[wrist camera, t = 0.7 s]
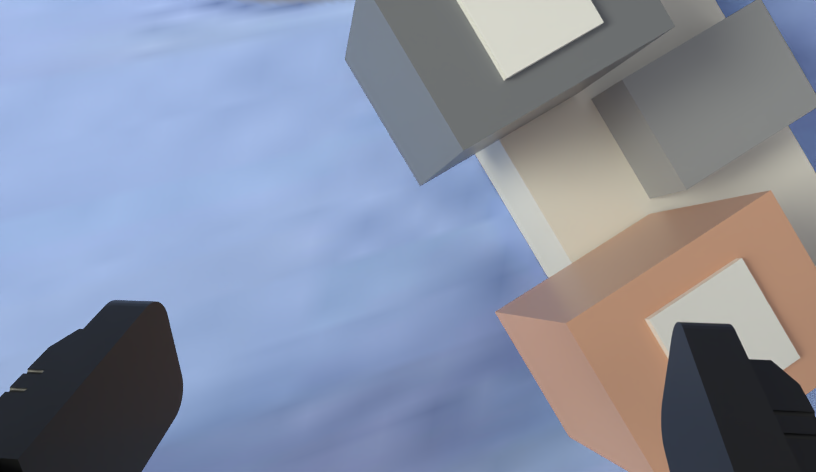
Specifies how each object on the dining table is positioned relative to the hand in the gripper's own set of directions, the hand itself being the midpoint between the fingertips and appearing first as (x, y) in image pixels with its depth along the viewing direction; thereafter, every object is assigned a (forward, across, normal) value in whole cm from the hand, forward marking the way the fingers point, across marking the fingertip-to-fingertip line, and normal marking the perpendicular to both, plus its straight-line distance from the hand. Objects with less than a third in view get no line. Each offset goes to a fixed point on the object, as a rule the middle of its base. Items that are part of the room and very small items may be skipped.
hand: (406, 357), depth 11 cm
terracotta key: (+17, -6, +10) cm, 21 cm away
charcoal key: (+20, 0, +1) cm, 20 cm away
